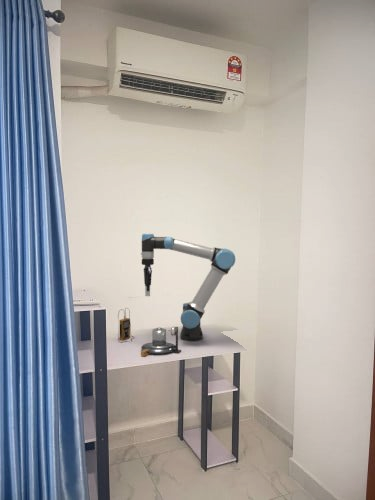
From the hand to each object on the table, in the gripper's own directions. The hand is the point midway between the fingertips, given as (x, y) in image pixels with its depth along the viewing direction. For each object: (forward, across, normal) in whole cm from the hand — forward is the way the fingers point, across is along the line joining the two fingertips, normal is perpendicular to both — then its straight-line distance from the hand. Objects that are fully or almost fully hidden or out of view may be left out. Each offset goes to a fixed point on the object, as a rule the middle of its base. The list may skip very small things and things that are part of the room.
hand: (147, 296), depth 229 cm
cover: (+27, +17, +3) cm, 33 cm away
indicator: (+29, +23, +11) cm, 39 cm away
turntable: (+29, +18, +1) cm, 34 cm away
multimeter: (+30, -9, -10) cm, 33 cm away
